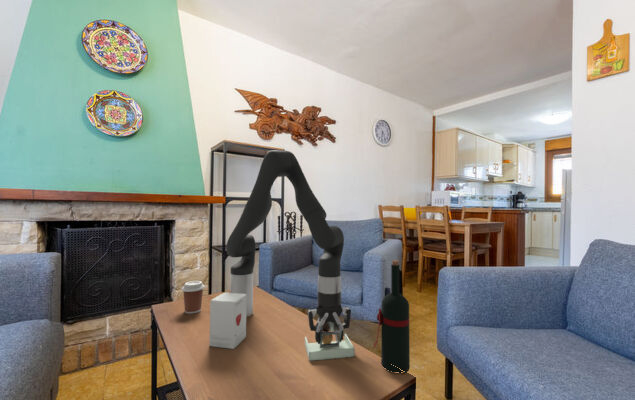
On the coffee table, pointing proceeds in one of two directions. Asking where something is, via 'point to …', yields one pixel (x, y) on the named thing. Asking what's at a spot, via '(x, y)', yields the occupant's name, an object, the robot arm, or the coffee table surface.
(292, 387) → the coffee table surface
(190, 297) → the coffee cup
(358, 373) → the coffee table surface
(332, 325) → the grey hollow box
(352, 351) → the tray
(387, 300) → the wine bottle
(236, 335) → the supplement box
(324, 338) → the ball
